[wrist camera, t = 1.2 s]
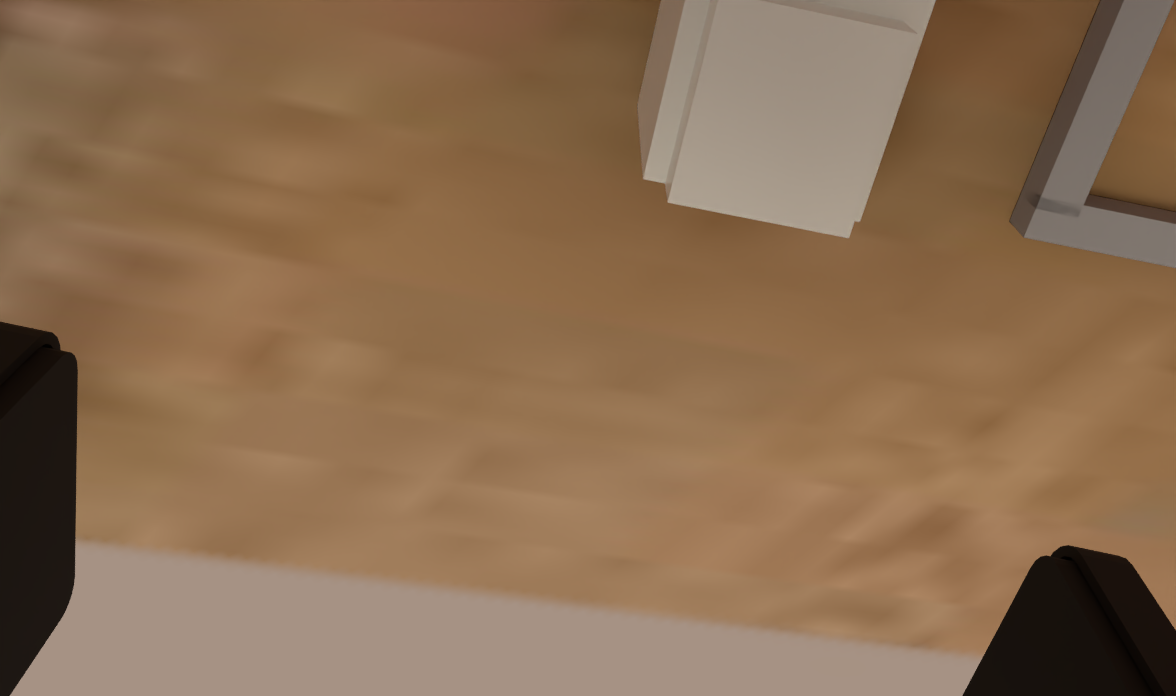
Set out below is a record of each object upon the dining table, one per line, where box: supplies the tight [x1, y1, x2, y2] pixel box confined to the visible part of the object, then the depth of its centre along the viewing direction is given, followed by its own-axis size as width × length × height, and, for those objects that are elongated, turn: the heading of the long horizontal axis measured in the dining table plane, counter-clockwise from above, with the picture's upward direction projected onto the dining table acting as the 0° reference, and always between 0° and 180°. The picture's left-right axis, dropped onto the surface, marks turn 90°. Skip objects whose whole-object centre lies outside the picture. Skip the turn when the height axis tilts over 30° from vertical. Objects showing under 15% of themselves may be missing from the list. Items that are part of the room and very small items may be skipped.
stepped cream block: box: [637, 0, 936, 238], centre depth 25 cm, size 6×5×7 cm
